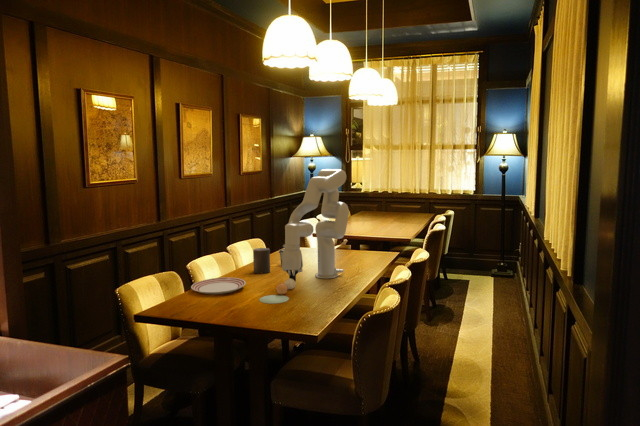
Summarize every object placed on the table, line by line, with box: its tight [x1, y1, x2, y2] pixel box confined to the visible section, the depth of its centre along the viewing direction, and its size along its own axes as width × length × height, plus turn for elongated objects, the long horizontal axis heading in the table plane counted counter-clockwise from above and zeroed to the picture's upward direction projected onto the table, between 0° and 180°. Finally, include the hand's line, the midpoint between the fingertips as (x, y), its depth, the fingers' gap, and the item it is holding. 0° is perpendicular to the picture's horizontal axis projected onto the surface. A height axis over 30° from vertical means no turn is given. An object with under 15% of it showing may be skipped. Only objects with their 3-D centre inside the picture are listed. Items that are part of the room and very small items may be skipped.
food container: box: [278, 248, 285, 267], centre depth 313 cm, size 12×6×10 cm, turn 71°
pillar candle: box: [252, 247, 271, 275], centre depth 295 cm, size 10×10×15 cm
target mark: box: [258, 294, 290, 305], centre depth 239 cm, size 14×14×1 cm
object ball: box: [275, 283, 288, 296], centre depth 247 cm, size 6×6×6 cm
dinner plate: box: [190, 277, 247, 295], centre depth 258 cm, size 28×27×3 cm
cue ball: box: [284, 277, 296, 290], centre depth 257 cm, size 6×6×6 cm
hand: (292, 282), depth 261 cm, fingers closed
